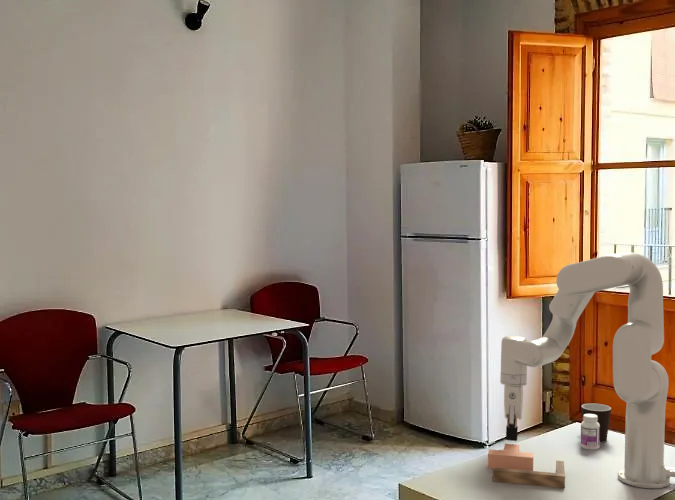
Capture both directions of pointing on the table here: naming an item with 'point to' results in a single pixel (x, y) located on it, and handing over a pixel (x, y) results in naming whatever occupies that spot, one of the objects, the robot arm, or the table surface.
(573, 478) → the table surface
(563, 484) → the walnut fence
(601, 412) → the coffee mug
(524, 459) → the t block
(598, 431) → the pill bottle
